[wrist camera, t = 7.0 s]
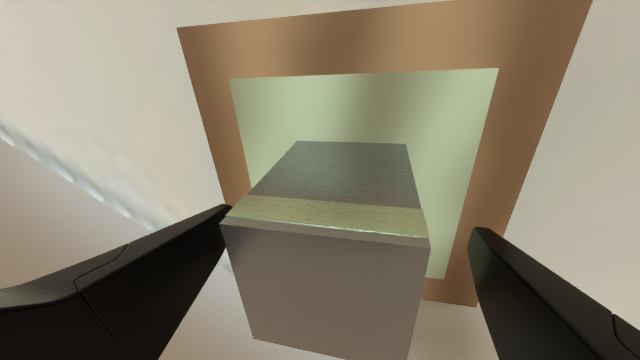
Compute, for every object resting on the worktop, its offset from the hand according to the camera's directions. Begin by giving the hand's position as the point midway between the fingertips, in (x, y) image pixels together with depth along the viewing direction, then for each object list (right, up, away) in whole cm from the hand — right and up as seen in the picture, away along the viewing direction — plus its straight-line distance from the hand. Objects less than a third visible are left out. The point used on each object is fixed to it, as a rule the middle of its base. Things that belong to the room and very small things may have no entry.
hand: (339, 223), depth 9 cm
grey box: (+1, +1, +2) cm, 3 cm away
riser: (+1, +3, +5) cm, 6 cm away
